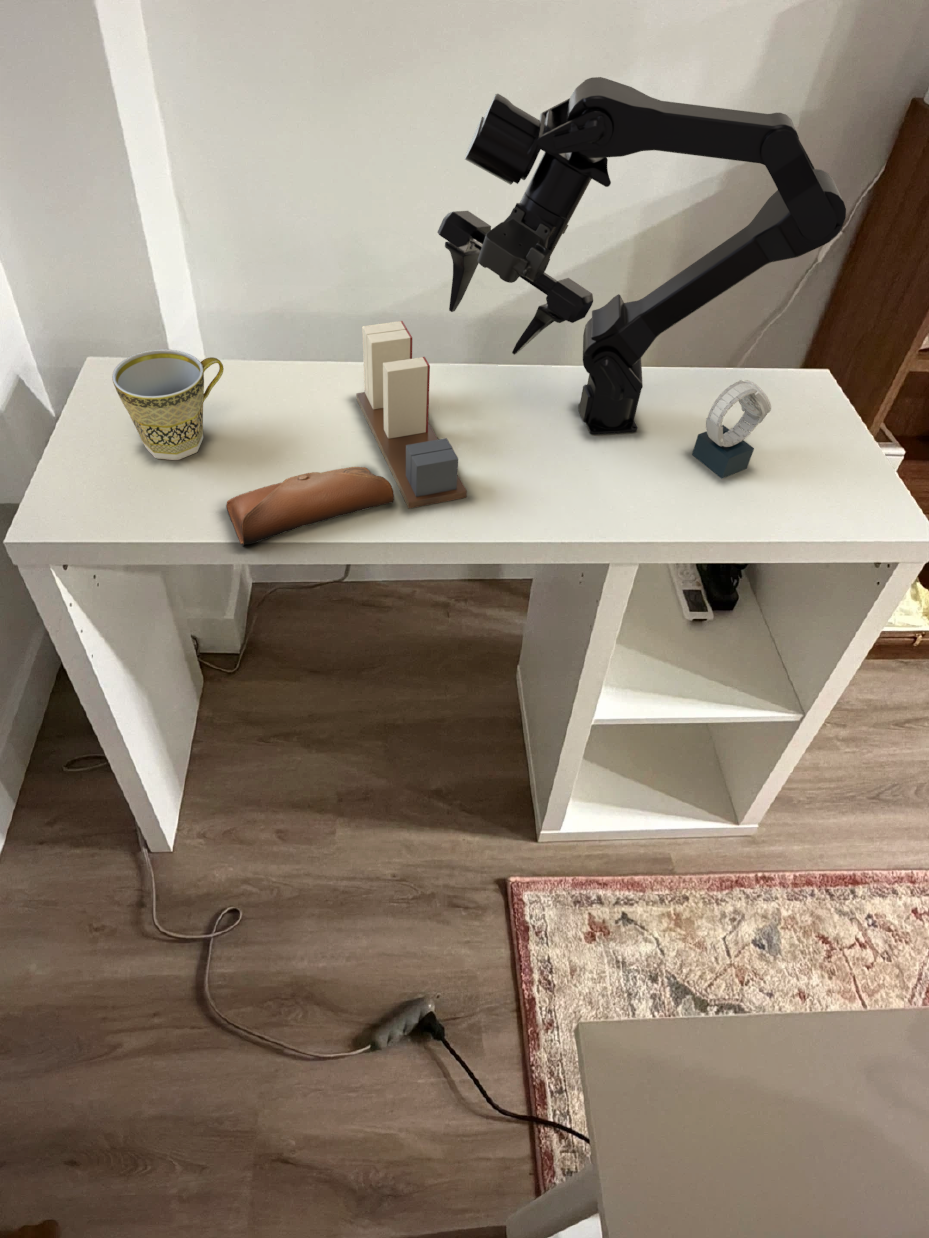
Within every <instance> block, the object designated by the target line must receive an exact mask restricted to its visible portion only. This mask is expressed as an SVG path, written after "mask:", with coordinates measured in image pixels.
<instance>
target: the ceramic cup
mask: <svg viewBox="0 0 929 1238" xmlns="http://www.w3.org/2000/svg"><path fill="white" fill-rule="evenodd" d="M214 364H218V371H217V373H216V375H215V376H214V378H213V379H212V380H211V381H210V383H209V384H208V386H207V387H206V389H205V372H206V371H207V369H208V368H209V367H211V366H213V365H214ZM223 374H224V365H223V363H222V361H221V360H220V359H218V358H217V357H211V356H210V357H205V358H204V359H203V360H201V361H200V360H199V359H198V358H197V357H195V356H194V355H192V354H190V353H188V352H185V351H182V350H177V349H169V348H167V349H165V348H163V349H160V348H159V349H150V350H146V351H145V350H144V351H141V352H138V353H135V354H132V355H131V356H128V357H127V358H124V359H123V360H122V361H121V362H119V363H118V364H117V365H116V367H115V368H114V370H113V372H112V374H111V380H112V383H113V386H114V389H115V390H116V392H117V395H118V397H119V399H120V401H121V403H122V405H123V407H124V408H125V410H126V411H127V413H128V415H129V418H130V419H131V421H132V423H133V425H134V428H135V429H136V431H137V433H138V436H139V437H140V439H141V442H142V444H143V445H144V447H145V449H146V450H147V451H148V452H149V453H150V454H151V455H152V456H153V457H154V458H155V459H158V460H168V461H169V460H170V461H180V460H182V459H185V458H187V457H190V456H192V455H194V454H197V452H199V449H200V447H201V445H202V442H203V440H204V403H205V400H207V398H208V397H209V395H210V393H211V392H212V390H213V388H214V387H215V385H216V384H217V383H218V382H219V380H220V379H221V378H222V376H223Z"/></svg>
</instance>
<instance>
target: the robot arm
mask: <svg viewBox="0 0 929 1238" xmlns="http://www.w3.org/2000/svg"><path fill="white" fill-rule="evenodd" d="M541 151H543V155H542V157H541V158H540V161H539V163H538V165H537V167H536V168H535V171H534V173H533V175H532V177H531V179H530V181H529V183H528V185H527V187H526V189H525V190H524V193H523V195H522V197H521V199H520V201H519V202H516V204H515V205H514V207H513V208H512V210H511V212H510V213H509V215H507V217H506V219H504V220H503V221H502V222H499V223H498V224H497V225H495V226H494V227H492V225H490V224H489V223H487V222H485V220H483V219H482V218H480V217H478V216H477V215H476V214H474V213H472V212H471V211H469V210H455V211H451V212H448V213H447V214H446V215H445V216H444V217H443V219H442V221H441V223H440V225H439V227H438V229H437V232H436V233H437V234H438V236H439V237H441V238H443V239H444V240H446V241H445V242H444V248H445V249H446V250H448V251H449V253H450V256H451V261H452V279H451V280H452V281H451V288H450V289H451V290H450V297H449V307H448V311H449V312H451V313H453V312H456V310H457V308H458V307H459V305H460V303H461V302H462V301H463V298H464V296H465V294H466V292H467V289H468V287H469V285H470V283H471V282H472V281H471V280H472V279H473V277H474V275H475V272H476V270H477V268H478V266H479V265H480V266H481V267H482V268H484V269H486V268H487V269H489V270H490V271H491V272H493V273H494V274H496V275H498V277H499V279H500V280H502V281H503V282H506V283H509V284H513V283H515V282H516V281H517V280H518V279H519V278H521V279H522V280H524V281H525V282H527V283H528V284H530V285H531V286H533V287H534V288H536V289H537V290H539V291H540V292H542V293H543V294H545V295H546V297H545V301H546V303H543V304H541V305H538V306H537V308H536V309H537V310H536V311H535V314H534V316H533V318H531V321H530V322H529V324H528V325H527V327H526V328H525V329H524V331H523V333H522V334H521V336H520V337H519V339H518V340H517V342H516V343H515V345H514V346H513V349H512V351H511V354H513V356H515V355H517V354H519V353H520V352H521V351H522V350H523V349H524V348H525V347H526V346H527V345H528V344H529V343H531V342H532V341H533V340H534V339H535V338H536V337H537V336H538V335H539V334H540V333H541V332H543V331H544V330H545V329H547V327H549V326H550V325H552V324H553V323H554V322H555V323H557V324H562V323H564V322H568V323H571V324H574V323H576V322H578V321H580V320H582V319H585V318H586V316H587V315H588V313H589V311H590V309H591V308H592V306H593V303H594V296H593V294H594V293H592V292H590V290H588V289H587V288H584V286H582V285H580V284H578V282H576V281H574V280H573V279H571V278H570V277H566V278H562V279H560V280H557V279H555V278H554V277H552V276H551V275H550V274H548V273H546V270H547V268H548V265H549V263H550V261H551V256H552V254H553V253H554V251H555V248H556V247H557V245H558V244H559V241H560V240H561V237H562V235H564V234H565V233H566V231H567V229H568V227H569V222H570V221H571V219H572V217H573V216H574V213H575V211H576V210H577V208H578V205H579V204H580V203H581V202H580V201H581V200H582V198H583V196H584V194H585V192H586V190H587V189H588V187H589V185H590V183H591V181H592V180H593V181H595V182H596V183H598V184H600V185H602V186H604V187H605V188H609V187H610V186H611V184H612V181H611V178H610V174H609V170H608V169H609V168H608V161H609V158H619V157H620V158H621V157H626V156H630V155H633V154H637V153H640V152H649V151H650V152H651V151H657V152H666V153H674V154H682V155H688V156H696V157H706V158H712V159H713V158H714V159H720V160H727V161H728V160H729V161H737V162H744V163H745V162H746V163H751V164H752V163H753V164H761V165H763V166H765V168H766V170H767V171H768V174H769V175H770V177H771V179H772V181H773V183H774V185H775V187H776V189H777V190H776V191H775V192H774V193H773V194H772V195H770V196H769V198H768V199H767V200H766V201H765V203H764V204H763V205H762V207H761V208H760V209H759V210H758V212H757V213H756V215H755V216H754V217H753V219H752V220H751V221H750V222H749V224H747V225H746V226H744V227H743V228H742V229H741V230H740V231H738V232H736V233H735V234H733V235H732V236H730V237H729V238H728V239H726V240H725V241H723V242H722V243H720V244H719V245H718V246H716V247H715V248H713V249H711V251H709V252H708V253H706V254H704V255H703V256H701V257H700V258H699V259H697V260H696V261H695V262H693V263H691V264H690V265H689V266H687V267H686V268H684V269H683V270H682V271H680V272H678V273H677V274H676V275H674V276H672V277H671V278H670V279H668V280H666V282H664V283H662V284H661V285H659V286H658V287H656V288H655V289H653V291H651V292H650V293H648V294H647V295H645V296H644V297H642V298H640V299H638V300H632V301H627V302H624V300H623V298H622V296H621V294H616V295H615V296H613V297H612V298H611V299H610V300H609V301H608V302H607V303H606V304H604V305H603V306H601V307H600V308H596V309H593V310H592V311H591V318H589V320H587V322H586V323H585V326H584V328H583V335H582V365H583V368H584V369H585V371H586V373H587V374H588V378H587V383H586V384H584V385H583V386H582V390H581V396H580V401H579V403H578V406H577V409H578V413H579V415H580V417H581V420H582V422H583V423H584V424H585V427H586V428H587V431H588V433H589V434H590V435H592V436H593V435H594V436H596V435H611V434H626V433H628V434H629V433H637V432H638V425H637V423H636V421H635V418H636V414H637V410H638V406H639V402H640V397H641V393H642V389H643V388H644V387H643V385H644V384H643V367H642V358H643V356H644V355H645V354H646V352H647V351H648V349H649V348H650V347H651V345H652V344H653V343H654V342H655V340H656V339H657V338H658V337H659V336H660V335H661V334H663V333H665V332H666V331H667V330H669V329H670V328H672V327H674V326H675V325H677V324H678V323H679V322H681V321H682V320H684V319H686V318H687V317H689V316H691V315H692V314H693V313H695V312H696V311H697V310H700V309H701V308H703V307H704V306H705V305H707V304H708V303H710V302H712V301H713V300H715V299H716V298H717V297H719V296H720V295H722V294H723V293H725V292H727V291H728V290H730V289H732V288H733V287H734V286H736V285H738V284H739V283H741V282H742V281H744V280H745V279H746V278H748V277H750V276H751V275H753V274H754V273H756V272H758V271H759V270H760V269H762V268H763V267H765V266H767V265H769V264H771V263H775V262H780V261H786V260H791V259H796V258H799V257H802V256H804V255H806V254H808V253H811V252H813V251H814V250H817V249H819V248H821V247H823V246H825V245H827V244H828V243H830V242H831V241H833V240H834V239H835V238H836V237H837V236H839V234H840V233H841V232H842V229H843V226H844V223H845V221H846V218H847V217H846V216H847V208H846V205H845V201H844V199H843V197H842V194H841V193H840V190H839V188H838V186H837V184H836V182H835V179H834V178H833V177H832V176H831V174H830V173H828V172H827V171H825V170H822V169H818V168H815V166H814V164H813V162H812V160H811V158H810V156H809V154H808V153H807V151H806V150H805V147H804V145H803V144H802V142H801V140H800V137H799V134H798V132H797V130H796V126H795V125H794V122H793V120H792V118H791V117H789V115H788V114H786V113H782V112H772V113H763V112H755V111H749V110H739V109H732V108H723V107H716V106H715V107H714V106H707V105H699V104H692V103H682V102H674V101H666V100H661V99H658V98H654V97H652V96H649V95H648V94H646V93H644V92H641V91H640V90H638V89H636V88H634V87H632V86H630V85H626V84H624V83H621V82H618V81H614V80H612V79H609V78H607V77H601V76H598V77H597V76H596V77H594V76H593V77H589V78H587V79H585V80H584V81H583V82H581V83H580V84H579V85H578V86H576V87H575V89H574V90H573V92H572V94H571V95H570V97H569V98H567V99H565V100H564V101H562V102H559V103H558V104H555V105H554V106H552V107H550V108H548V109H546V110H544V111H542V112H541V113H540V115H539V119H538V118H537V117H535V116H533V115H532V114H530V113H528V112H526V111H525V110H523V109H521V108H519V107H518V106H516V105H514V104H513V103H512V102H511V101H510V100H509V99H508V98H507V97H505V96H503V95H501V94H500V93H495V94H494V96H493V98H492V100H491V103H490V104H489V106H488V108H487V110H486V111H485V114H484V116H481V117H480V120H479V122H478V124H477V127H476V128H475V131H474V133H473V136H472V137H471V140H470V142H469V144H468V148H467V150H466V153H465V156H464V160H465V161H467V162H469V163H470V164H472V165H474V166H476V167H478V168H479V169H482V170H483V171H485V172H486V173H489V174H490V175H492V176H494V177H496V178H498V179H499V180H501V181H503V182H504V183H507V184H508V185H513V184H514V183H515V184H516V185H518V184H520V182H521V180H522V181H525V180H526V179H527V178H528V176H529V175H530V173H531V171H532V170H533V167H534V165H535V163H536V161H537V159H538V156H539V154H540V152H541Z"/></svg>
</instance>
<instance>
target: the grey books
mask: <svg viewBox="0 0 929 1238" xmlns="http://www.w3.org/2000/svg"><path fill="white" fill-rule="evenodd" d="M458 473H459V457H458V455H457V454H456V452H455V450H454V448H453V447H452V445H451V443H450V441H449V440H448V438H447V437H446V438H445V437H444V438H438V440H433V441H427V442H421V443H415V444H410V445H406V477H407V479H408V481H409V483H410V485H411V487H412V489H413V492H414V494H415V496H416V497H419V496H425V495H430V494H435V493H440V492H446V491H451V490H456V488H457V474H458Z"/></svg>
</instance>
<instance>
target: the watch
mask: <svg viewBox="0 0 929 1238" xmlns="http://www.w3.org/2000/svg"><path fill="white" fill-rule="evenodd" d="M737 403H739V404H740V407H741V411H742V412H743V414H742V416H741V417H740V418H739V419H738V421H737V422H736V423H735V424H734V426H732V427H731V428H728V427H727V426H726V425H724V424H723V420H724V417H725V416H726V415H727V414H728V411H729V410H731V408H732V407H734V405H736V404H737ZM708 411H709V412H708V414H707V417H706V418H705V431H703V432H701V433H698V434H697V437H696V440H695V443H694V446H693V450H692V453H691V455H692V456H693V457H694V458H696V460H698V461H699V462H700V463H702V464H703V465H704V466H706V468H708V469H709V470H710V471H711V472H713V473H714V474H715V475H717V477H719V478H720V479H725V478H728V477H729V476H730V477H731V476H733V475H734V474H737V473H739V472H741V471H745V470H746V469H748V466H749V463H750V460H751V458H752V456H753V453H754V450H755V447H753V446H752V445H750V444H749V443H748V442H747V441H745V439H746V438H747V437H749V436H750V435H751V434H752V432H753V431H754V430H755V429H756V428H757V426H758V425H759V424H761V423H763V421H764V419H765V418H766V416H767V415H768V414H769V413H770V412H771V411H772V404H771V401H770V399H769V398H768V396H767V395H766V393H765V392H764V390H763V389H761V387H760V386H758V385H757V384H756V383H754V382H753V381H752V380H748V379H747V380H742V379H739V380H738V381H737V382H734V383H731V384H730V385H729V386H727V387H726V388H725V389H724V390H723V391H721V393H720V394H719V395H718V397H717V398H716V399H715V401H714V402H713V404H712V406H711V407H710V409H709V410H708Z"/></svg>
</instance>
